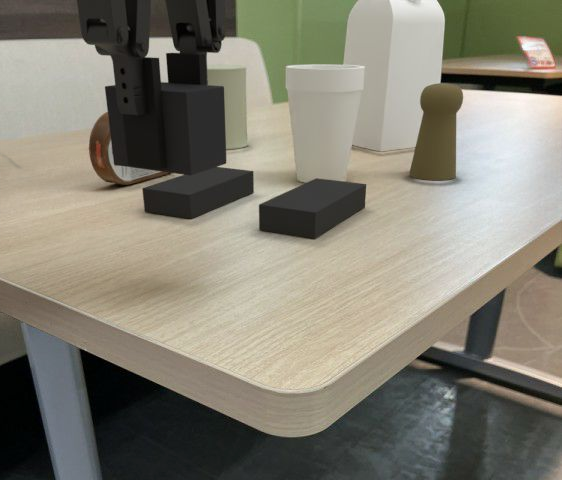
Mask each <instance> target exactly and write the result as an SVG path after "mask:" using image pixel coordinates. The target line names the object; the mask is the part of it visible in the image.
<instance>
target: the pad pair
mask: <svg viewBox="0 0 562 480" xmlns="http://www.w3.org/2000/svg"><path fill="white" fill-rule="evenodd" d="M254 182H255V181H254V170H248V169H240V168H239V169H238V168H230V167H221V166H218V167H215V168H212V169H209V170H206V171H203V172H200V173H197V174H194V175H184V174H181V175H179V176H176V177H173V178H170V179H166V180H163V181H160V182H157V183H154V184H151V185H148V186H145V187H142V190H141V191H142V199H143V208H144V210H143V211H144V212H145V213H151V214H157V215H162V216H169V217H175V218H181V219H182V218H183V219H187V220H189V219H190V220H192V219H194V218H197V217H199V216H202V215H204V214H206V213H208V212H211V211H213V210H215V209H218V208H220V207H222V206H223V207H224V206H225V205H228V204H230V203H232V202H235V201H237V200H239V199H242V198H244V197H247V196H249V195H252V194H253V193H254V192H255V188H254V186H255V184H254ZM366 194H367V184H366V183H360V182H351V181H335V180H327V179H318V178H316V179H314V180H311V181H309V182H307V183H303V184H301V185H298V186H296V187H294V188H292V189H290V190H288V191H285V192H283V193H280V194H279V195H277V196H274V197H272V198H270V199H268V200H266V201H264V202H262V203H259V204H258V226H259V227H258V230H259V231H263V232H270V233H276V234H282V235H287V236H295V237H301V238H308V239H312V240H313V239H314V240H315V239H317V238H319V237H320V236H322V235H323V234H325V233H326V232H328V231H329V230H331V229H333V228H334V227H336V226H337V225H340V223H342V222H344V221H345V220H347V219H349V218H350V217H352V216H353V215H355V214H356V213H358V212H360V211H361V210H362V209H364V208H366V199H367V198H366V197H367V195H366Z"/></svg>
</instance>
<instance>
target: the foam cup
mask: <svg viewBox="0 0 562 480" xmlns="http://www.w3.org/2000/svg"><path fill="white" fill-rule="evenodd" d="M364 71H365V67H364V66H357V65H343V64H332V63H331V64H330V63H329V64H328V63H327V64H326V63H325V64H322V63H320V64H319V63H318V64H317V63H315V64H312V63H311V64H291V65H286V66H285V89H286V90H287V99H288V109H289V118H290V127H291V138H292V146H293V155H294V164H295V165H294V166H295V173H296V175H297V176H296V180H297V181H299V182H301V183H303V184H305V183H307V182H309V181H311V180H314V179H316V178H318V179H327V180H335V181H344V182H347V181H346V179H347V175H348V170H349V164H350V159H351V153H352V147H353V145H352V142H353V136H354V130H355V125H356V119H357V113H358V108H359V102H360V96H361V91H362V90H363V87H364Z"/></svg>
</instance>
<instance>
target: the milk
mask: <svg viewBox="0 0 562 480" xmlns="http://www.w3.org/2000/svg"><path fill="white" fill-rule="evenodd" d="M346 25H347V26H346V33H345V42H344V54H343V63H342V65H357V66H364V67H365V71H364V87H363V90H362V91H361V96H360V102H359V108H358V113H357V119H356V125H355V130H354V136H353V142H352V146H355V147H359V148H363V149H367V150H371V151H376V152H381V153H382V152H388V151H397V150H406V149H412V148H414V149H415V147H416V143H417V138H418V134H419V130H420V125H421V121H422V117H423V110H422V108H421V105H420V97H421V94H422V91H423V90H424V88H425V87H427V86H428V85H432V84H438V83H441V80H442V68H443V67H442V66H443V56H444V55H443V54H444V39H445V27H446V17H445V12H444V11H443V8H442V6H441V5H440V3H439V1H438V0H357V1H356V2H355V4H354V5H353V7H352V8H351V10H350V12H349V14H348V17H347V23H346Z"/></svg>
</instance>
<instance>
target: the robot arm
mask: <svg viewBox="0 0 562 480" xmlns="http://www.w3.org/2000/svg"><path fill="white" fill-rule="evenodd" d="M164 1H165V5H166V13H167V17H168V22H169V28H170V33H171V34H170V35H171V39H172V44H173V47H174V49H175V51H177V52H165V59H166V72H167V83H182V84H197V85H208V80H207V78H208V76H207V65H208V58H207V57H208V53H211V54H218V53H220V51H221V50H222V41H224V40H225V39H226V33H227V23H226V19H227V17H226V0H164ZM76 4H77V12H78V19H79V25H80V32H81V37H82V40H83V41H84V42H85V43H86V44H87V45H88V46H89V45H90V46H94V48H95V51H96V52H97V54H98V55H100V56H106V57H107V56H110V58H111V61H112V68H113V69H112V70H113V79H114V85H115V87H116V94H117V105H118V108H119V111H120V113H121V114H123V123H124V132H125V142H126V151H127V160H128V165H130V166H138V167H145V168H152V169H159V170H161V169H164V168H167V159H166V146H165V134H164V121H163V108H162V95H161V91H162V90H161V82H162V79H161V78H162V77H161V67H160V66H161V65H160V63H161V62H160V57H151V56H150V57H149V56H148V54H149V52H150V51H149V50H150V32H151V30H150V29H151V10H152V7H151V4H152V0H76ZM101 20H103V21H101Z"/></svg>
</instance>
